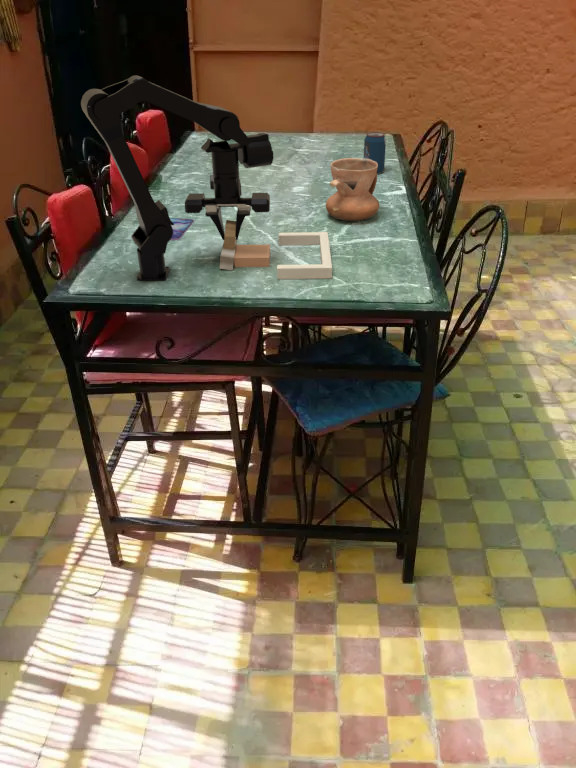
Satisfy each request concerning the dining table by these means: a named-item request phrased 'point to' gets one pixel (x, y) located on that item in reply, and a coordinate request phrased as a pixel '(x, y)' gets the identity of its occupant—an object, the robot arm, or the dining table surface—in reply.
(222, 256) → the beige t-shaped block
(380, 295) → the dining table surface
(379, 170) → the soda can
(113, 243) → the dining table surface
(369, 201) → the ceramic jug
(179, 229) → the smartphone
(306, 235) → the beige u-shaped frame
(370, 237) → the dining table surface
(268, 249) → the tile
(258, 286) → the dining table surface
